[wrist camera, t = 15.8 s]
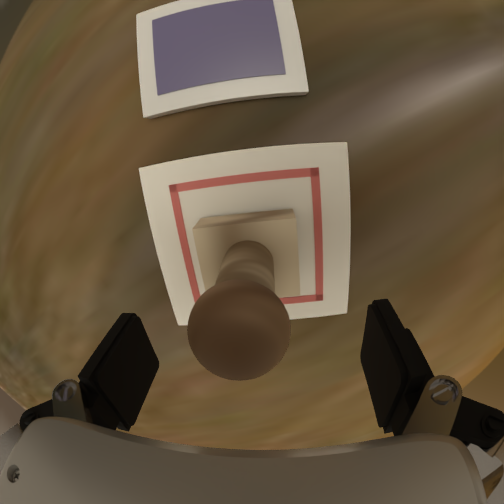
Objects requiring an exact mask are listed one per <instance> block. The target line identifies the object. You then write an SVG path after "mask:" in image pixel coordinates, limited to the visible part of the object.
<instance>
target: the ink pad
mask: <svg viewBox="0 0 504 504" xmlns="http://www.w3.org/2000/svg"><path fill="white" fill-rule="evenodd" d="M137 50H138V66H139V79H140V91H141V100H142V109H143V118H149V119H152V118H156V117H160V116H164V115H168V114H172V113H176V112H181V111H185V110H190V109H195V108H200V107H205V106H210V105H216V104H222V103H229V102H235V101H243V100H251V99H260V98H270V97H282V96H298V95H306V94H307V93H308V92H309V90H308V83H307V77H306V70H305V64H304V58H303V52H302V47H301V41H300V36H299V31H298V26H297V21H296V16H295V12H294V7H293V3H292V0H179V1H176V2H172V3H169V4H165V5H162V6H159V7H156V8H153V9H150V10H147V11H144V12H141V13H139V14H137Z"/></svg>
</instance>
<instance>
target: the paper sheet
mask: <svg viewBox="0 0 504 504" xmlns="http://www.w3.org/2000/svg"><path fill="white" fill-rule="evenodd" d="M139 173H140V178H141V184H142V189H143V194H144V199H145V204H146V208H147V213H148V218H149V222H150V226H151V231H152V235H153V239H154V243H155V247H156V251H157V255H158V258H159V262H160V266H161V270H162V273H163V277H164V280H165V284H166V287H167V291H168V294H169V297H170V301H171V304H172V307H173V310H174V313H175V316H176V319H177V322H178V325H188V320H189V316H190V312H191V310H192V308H193V306H194V304H195V302H196V301H197V300H198V298H199V297H200V296H201V295H202V294H203V293H204V292H205V287H204V283H203V279H202V274H201V270H200V265H199V260H198V256H197V251H196V246H195V241H194V236H193V231H192V228H193V227H194V226H195V225H196V223H197V222H198V221H199V220H200V219H201V218H207V217H215V216H224V215H233V214H242V213H252V212H262V211H272V210H283V209H293V211H294V214H295V217H296V223H297V238H298V255H299V274H300V296H290V297H279V299H280V300H281V301H282V303H283V304H284V306H285V308H286V310H287V312H288V315H289V319H301V318H311V317H320V316H329V315H337V314H345V313H347V306H348V292H349V273H350V236H351V218H350V181H349V162H348V148H347V142H330V143H308V144H293V145H281V146H270V147H260V148H251V149H243V150H235V151H228V152H221V153H214V154H208V155H202V156H196V157H190V158H185V159H179V160H174V161H169V162H164V163H160V164H155V165H151V166H146V167H142V168H139Z"/></svg>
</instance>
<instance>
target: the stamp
mask: <svg viewBox="0 0 504 504" xmlns="http://www.w3.org/2000/svg"><path fill="white" fill-rule="evenodd" d="M192 231H193V236H194V241H195V246H196V251H197V256H198V260H199V265H200V270H201V274H202V279H203V283H204V287H205V292H204V293H203V294H202V295H201V296H200V297H199V298H198V300H197V301H196V302H195V304H194V306H193V308H192V310H191V312H190V316H189V320H188V329H187V331H188V340H189V344H190V346H191V349H192V351H193V353H194V355H195V357H196V358H197V360H198V361H199V362H200V363H201V364H202V365H203V366H204V367H205V368H206V369H207V370H209V371H210V372H212V373H213V374H215V375H217V376H219V377H222V378H225V379H229V380H249V379H254V378H257V377H260V376H262V375H264V374H266V373H267V372H269V371H270V370H271V369H273V368H274V367H275V366H276V365H277V364H278V363H279V362H280V360H281V359H282V358H283V356H284V354H285V352H286V350H287V348H288V345H289V341H290V336H291V325H290V319H289V315H288V312H287V310H286V308H285V306H284V304H283V303H282V301H281V300H280V299H279V297H290V296H300V274H299V255H298V238H297V223H296V217H295V214H294V211H293V209H283V210H272V211H262V212H252V213H242V214H233V215H224V216H215V217H207V218H201V219H200V220H199V221H198V222H197V223H196V225H195V226H194V227H193V228H192Z"/></svg>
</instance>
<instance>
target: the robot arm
mask: <svg viewBox="0 0 504 504" xmlns="http://www.w3.org/2000/svg"><path fill="white" fill-rule="evenodd" d="M360 357H361V363H362V367H363V370H364V374H365V377H366V380H367V384H368V388H369V391H370V395H371V399H372V402H373V406H374V410H375V414H376V418H377V422H378V426H379V427H383V429H384V433H389V432H393V434H394V436H393V437H387V438H381V439H375V440H369V441H364V442H358V443H351V444H344V445H336V446H327V447H318V448H306V449H290V450H237V449H221V448H209V447H200V446H191V445H184V444H177V443H171V442H165V441H160V440H154V439H149V438H145V437H140V436H136V435H131V434H127V433H123V432H120V431H116V428H117V427H118V429H121V430H125V431H129V430H130V427H131V426H133V425H134V424H135V422H136V419H137V417H138V414H139V412H140V410H141V407H142V405H143V403H144V400H145V398H146V396H147V393H148V391H149V389H150V386H151V384H152V382H153V380H154V377H155V375H156V373H157V370H158V368H159V361H158V358H157V356H156V354H155V352H154V349H153V347H152V345H151V343H150V340H149V338H148V336H147V333H146V331H145V329H144V326H143V324H142V321H141V319H140V318H139V317H137V315H136V314H135V313H122V314H121V315H120V317H119V318H118V319H117V321H116V322H115V323H114V325H113V326H112V328H111V329H110V330H109V332H108V333H107V334H106V336H105V337H104V339H103V340H102V341H101V343H100V344H99V346H98V347H97V349H96V350H95V351H94V353H93V354H92V356H91V357H90V359H89V360H88V362H87V363H86V365H85V366H84V368H83V369H82V371H81V372H80V374H79V375H78V378H79V379H80V382H79V383H78V382H77V381H76V380H73V379H67V380H64V381H62V382H60V383H59V384H58V385H57V386H56V387H55V388H54V390H53V393H52V399H51V400H49V401H47V402H44V403H42V404H40V405H37V406H35V407H32V408H30V409H28V410H26V411H25V412H24V413H23V414H22V416H21V419H20V425H19V424H18V423H17V424H16V425H14V426H13V427H12V428H10V429H9V430H8V431H6V432H5V433H4V434H2V435H1V436H0V504H504V414H503V412H502V411H500V410H498V409H495V408H492V407H490V406H487V405H485V404H482V403H479V402H477V401H474V400H471V399H469V398H466V397H463V396H462V388H461V386H460V384H459V383H458V381H456V380H455V379H454V378H452V377H450V376H445V375H439V376H436V377H434V375H433V373H432V371H431V369H430V367H429V365H428V363H427V361H426V359H425V357H424V355H423V353H422V351H421V349H420V347H419V345H418V344H417V342H416V340H415V338H414V336H413V334H412V333H411V331H410V330H409V329H408V328H406V329H405V328H404V327H403V325H402V323H401V321H400V319H399V318H398V316H397V314H396V312H395V310H394V309H393V307H392V305H391V304H390V302H389V300H388V299H380V300H374V301H373V302H372V304H370V305H368V310H367V317H366V324H365V331H364V337H363V343H362V349H361V355H360Z"/></svg>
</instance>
